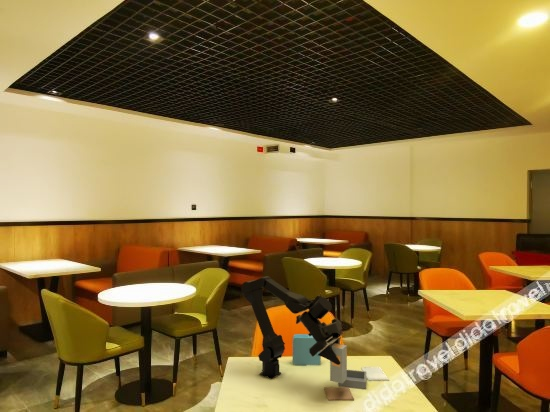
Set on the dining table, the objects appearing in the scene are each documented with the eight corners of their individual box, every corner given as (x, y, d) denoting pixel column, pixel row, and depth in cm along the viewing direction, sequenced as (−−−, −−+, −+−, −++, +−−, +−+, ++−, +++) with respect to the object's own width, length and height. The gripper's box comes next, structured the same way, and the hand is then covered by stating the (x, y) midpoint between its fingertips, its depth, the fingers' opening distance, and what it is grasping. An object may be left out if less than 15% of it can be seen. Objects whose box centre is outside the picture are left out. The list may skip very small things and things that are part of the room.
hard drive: (361, 366, 163) (368, 379, 150) (380, 366, 163) (389, 379, 150) (361, 370, 163) (368, 383, 150) (380, 370, 163) (389, 383, 150)
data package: (320, 362, 171) (320, 334, 171) (320, 366, 166) (320, 337, 166) (292, 361, 171) (292, 334, 172) (292, 365, 167) (292, 337, 167)
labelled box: (330, 380, 138) (330, 346, 138) (335, 376, 142) (335, 343, 142) (341, 383, 136) (342, 349, 136) (346, 379, 140) (346, 345, 140)
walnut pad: (328, 401, 134) (327, 398, 134) (324, 390, 143) (324, 387, 143) (353, 401, 134) (353, 398, 134) (348, 389, 143) (348, 387, 143)
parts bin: (338, 387, 146) (338, 379, 146) (340, 376, 155) (340, 368, 155) (365, 390, 143) (365, 382, 143) (366, 379, 153) (366, 371, 153)
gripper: (317, 318, 134) (347, 357, 128) (338, 307, 149) (366, 341, 144) (297, 337, 137) (325, 376, 132) (319, 324, 153) (345, 358, 147)
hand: (342, 361), depth 138 cm, fingers closed on labelled box, 5 cm apart
